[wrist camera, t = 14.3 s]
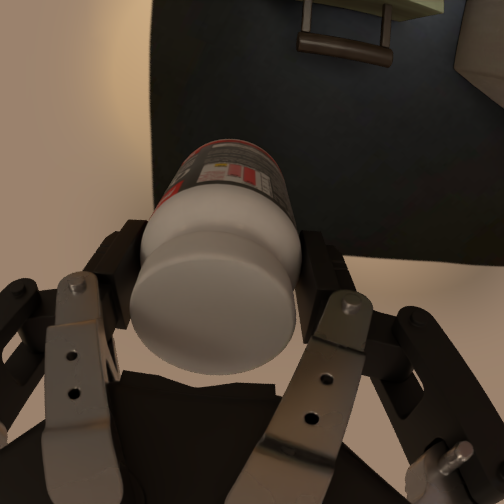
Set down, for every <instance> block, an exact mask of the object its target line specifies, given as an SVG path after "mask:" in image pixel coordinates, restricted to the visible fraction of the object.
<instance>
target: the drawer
mask: <svg viewBox="0 0 504 504" xmlns="http://www.w3.org/2000/svg"><path fill="white" fill-rule="evenodd" d="M297 1H303V9H302V23H301V32H298V35H297V42H296V50H297V51H298V52H304V53H312V54H319V55H326V56H332V57H338V58H344V59H349V60H354V61H359V62H364V63H369V64H374V65H378V66H382V67H386V68H389V67H390V66H391V64H392V61H393V52H392V50H391V49H390V48H389V45H390V32H391V19H392V20H395V21H398V22H402V21H406V20H410V19H415V18H420V17H425V16H430V15H436V14H441V13H444V0H297ZM312 3H319V4H325V5H331V6H336V7H342V8H347V9H351V10H356V11H360V12H365V13H369V14H373V15H377V16H381V17H382V22H381V36H380V46H378V45H373V44H369V43H365V42H360V41H355V40H350V39H345V38H340V37H334V36H328V35H322V34H315V33H309V32H310V28H311V15H312Z"/></svg>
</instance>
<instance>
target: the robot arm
mask: <svg viewBox="0 0 504 504" xmlns="http://www.w3.org/2000/svg"><path fill="white" fill-rule="evenodd" d="M147 223H148V221H147V220H128V221H127V222H126V223H125V225H124V226H123V228H122V229H121V231H120V232H118V231H115V232H113V233H112V234H110V235H109V236H107V237H106V238H105V239H104V241H103V242H102V244H101V245H100V247H99V248H98V249H97V251H96V253H94V255H93V256H92V258H91V259H90V260H89V262H88V263H87V265H86V266H85V268H84V270H83V271H80V272H75V273H72V274H70V275H67V276H66V277H64V278H63V279H62V280H61V281H60V282H59V284H58V287H57V289H51V290H42V291H39V290H38V287H37V284H36V282H35V281H34V280H32V279H29V278H22V279H18V280H15V281H13V282H11V283H10V284H9V285H7V287H6V288H5V289H3V290H2V291H1V292H0V504H496V503H497V502H499V501H501V500H503V499H504V423H503V421H502V419H501V418H500V416H499V414H498V413H497V411H496V409H495V407H494V406H493V404H492V403H491V401H490V399H489V398H488V396H487V394H486V393H485V391H484V390H483V388H482V387H481V385H480V383H479V382H478V380H477V379H476V377H475V376H474V374H473V373H472V371H471V370H470V368H469V367H468V365H467V364H466V362H465V361H464V359H463V358H462V356H461V355H460V353H459V352H458V351H457V349H456V348H455V346H454V345H453V343H452V342H451V341H450V339H449V338H448V336H447V335H446V334H445V332H444V331H443V329H442V328H441V327H440V325H439V324H438V323H437V321H436V320H435V319H434V317H433V316H432V315H431V314H430V313H429V312H427V311H425V310H424V309H422V308H419V307H415V306H406V307H403V308H402V309H400V310H399V312H398V314H397V317H396V316H392V315H388V314H384V313H380V312H377V311H375V310H373V305H372V303H371V301H370V300H369V299H368V298H367V297H366V296H364V295H363V294H361V293H359V292H357V291H356V288H355V286H354V283H353V281H352V278H351V275H350V273H349V271H348V268H347V266H346V264H345V261H344V258H343V256H342V253H341V252H340V251H339V250H338V249H336V248H335V247H334V246H333V245H326V244H325V242H324V239H323V236H322V233H321V232H317V231H305V230H301V232H300V235H299V239H300V244H301V252H302V266H301V272H300V276H299V280H298V282H297V285H296V287H295V291H296V297H297V304H298V310H299V317H300V324H301V330H302V337H303V343H304V344H307V347H306V348H305V351H304V353H303V355H302V357H301V359H300V362H299V364H298V366H297V368H296V370H295V372H294V375H293V377H292V379H291V381H290V383H289V385H288V387H287V389H286V391H285V393H284V395H283V397H281V396H277V395H275V394H276V393H275V384H257V383H230V384H223V385H216V386H209V387H200V388H196V387H191V386H188V385H185V384H182V383H179V382H176V381H173V380H170V379H167V378H164V377H162V376H159V375H152V374H145V373H138V372H132V371H125V370H123V372H122V375H121V376H120V371H119V365H118V360H117V354H116V348H115V341H114V338H113V332H114V330H115V328H118V329H125V330H126V329H127V326H128V324H129V321H130V319H131V317H130V299H131V294H132V291H133V288H134V286H135V284H136V281H137V278H138V275H139V272H140V270H141V264H140V246H141V240H142V236H143V233H144V230H145V228H146V226H147ZM16 332H18V333H19V336H20V337H21V339H22V342H21V343H20V345H19V346H18V347H17V348H16V350H15V351H14V352H13V353H12V355H11V356H10V357H9V359H8V360H7V361H6V363H5V364H4V363H3V361H2V352H3V349H4V347H5V346H6V345H7V343H8V342H9V341H10V340H11V339H12V337H13V336H14V335H15V334H16ZM413 370H415V371H416V373H417V375H418V376H419V378H420V380H421V382H422V384H423V387H424V391H423V390H422V388H421V386H420V384H419V382H418V380H417V379H416V377H415V375H414V373H413V372H412V371H413ZM44 374H45V376H44V377H45V380H44V382H45V383H44V385H45V387H44V388H45V420H43V421H42V422H40V423H39V424H37V425H36V426H34V427H33V428H31V429H30V430H28V431H27V432H25V433H24V434H22V435H21V436H19V437H18V438H16V439H15V440H14V441H12V442H11V443H9V444H8V443H7V432H8V430H9V429H10V427H11V425H12V424H13V422H14V420H15V419H16V417H17V416H18V414H19V412H20V411H21V409H22V408H23V406H24V404H25V403H26V401H27V400H28V398H29V396H30V395H31V394H32V392H33V390H34V389H35V387H36V386H37V384H38V383H39V381H40V380H41V378H42V377H43V375H44ZM361 375H364V376H369V377H370V379H371V381H372V383H373V385H374V387H375V390H376V392H377V394H378V396H379V398H380V400H381V402H382V404H383V407H384V409H385V411H386V413H387V415H388V417H389V419H390V422H391V424H392V426H393V428H394V430H395V433H396V435H397V437H398V439H399V442H400V444H401V446H402V448H403V451H404V453H405V455H406V457H407V460H408V462H409V464H410V467H409V468H408V470H407V473H406V477H405V483H406V486H405V492H406V493H407V499H406V498H405V497H403V496H402V495H401V494H400V493H399V492H397V491H396V490H395V489H394V488H393V487H392V486H391V485H390V484H388V483H387V482H386V481H385V480H384V479H383V478H382V477H380V476H379V475H378V474H377V473H376V472H375V471H374V470H373V469H371V468H370V467H369V466H368V465H367V464H366V463H365V462H364V461H363V460H362V459H361V458H359V457H358V456H357V455H356V454H355V453H354V452H353V451H352V450H351V449H350V448H349V447H348V446H347V445H346V444H344V443H343V442H342V439H343V437H344V434H345V430H346V427H347V424H348V420H349V418H350V414H351V411H352V408H353V404H354V401H355V397H356V393H357V390H358V386H359V382H360V378H361Z"/></svg>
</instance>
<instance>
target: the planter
mask: <svg viewBox="0 0 504 504" xmlns="http://www.w3.org/2000/svg"><path fill="white" fill-rule="evenodd" d="M454 69H455V70H456V71H457V72H458V73H459V74H461V75H462V76H463V77H464V78H465V79H467V80H468V81H469V82H470V83H471V84H473V85H474V86H475V87H477V88H478V89H479V90H480V91H482V92H483V93H484V94H486V95H487V96H488V97H489V98H490V99H492V100H493V101H494V102H496V103H497V104H498V105H500V106H501V107H502V108H504V0H467V2H466V6H465V11H464V16H463V20H462V25H461V30H460V35H459V40H458V45H457V51H456V57H455V63H454Z"/></svg>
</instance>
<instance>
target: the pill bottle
mask: <svg viewBox="0 0 504 504" xmlns="http://www.w3.org/2000/svg"><path fill="white" fill-rule="evenodd" d="M140 264H141V270H140V272H139V275H138V278H137V281H136V284H135V286H134V288H133V291H132V294H131V299H130V317H131V321H132V324H133V327H134V330H135V331H136V333H137V335H138V336H139V338H140V339H141V341H142V342H143V343H144V344H145V346H146V347H147V348H148V349H149V350H150V351H152V352H153V353H154V354H156V355H157V356H158V357H159V358H161V359H162V360H164V361H166V362H168V363H169V364H172V365H174V366H176V367H178V368H181V369H184V370H187V371H190V372H194V373H200V374H206V375H230V374H236V373H242V372H246V371H249V370H252V369H255V368H257V367H260V366H262V365H264V364H266V363H267V362H269V361H271V360H272V359H274V358H275V357H276V356H277V355H279V354H280V353H281V352H282V351H283V350H284V348H285V347H286V346H287V344H288V342H289V341H290V339H291V338H292V335H293V332H294V329H295V325H296V310H295V303H294V295H293V291H294V289H295V287H296V285H297V282H298V280H299V276H300V272H301V266H302V252H301V244H300V239H299V235H298V231H297V227H296V223H295V220H294V216H293V212H292V208H291V204H290V200H289V197H288V193H287V189H286V185H285V181H284V178H283V175H282V173H281V171H280V169H279V167H278V165H277V163H276V162H275V161H274V159H273V158H272V157H271V156H270V155H269V154H268V153H267V152H266V151H264V150H263V149H261V148H260V147H258V146H256V145H254V144H252V143H249V142H246V141H243V140H237V139H222V140H217V141H213V142H210V143H207V144H205V145H203V146H201V147H200V148H198V149H197V150H195V151H194V152H193V153H192V154H191V155H190V156H189V157H188V158H187V159H186V160H185V161H184V163H183V164H182V165H181V167H180V169H179V170H178V172H177V174H176V175H175V177H174V179H173V180H172V182H171V184H170V185H169V187H168V189H167V190H166V192H165V193H164V195H163V197H162V199H161V200H160V202H159V204H158V206H157V207H156V209H155V210H154V212H153V214H152V216H151V217H150V219H149V221H148V223H147V226H146V228H145V230H144V233H143V236H142V240H141V246H140Z"/></svg>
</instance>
